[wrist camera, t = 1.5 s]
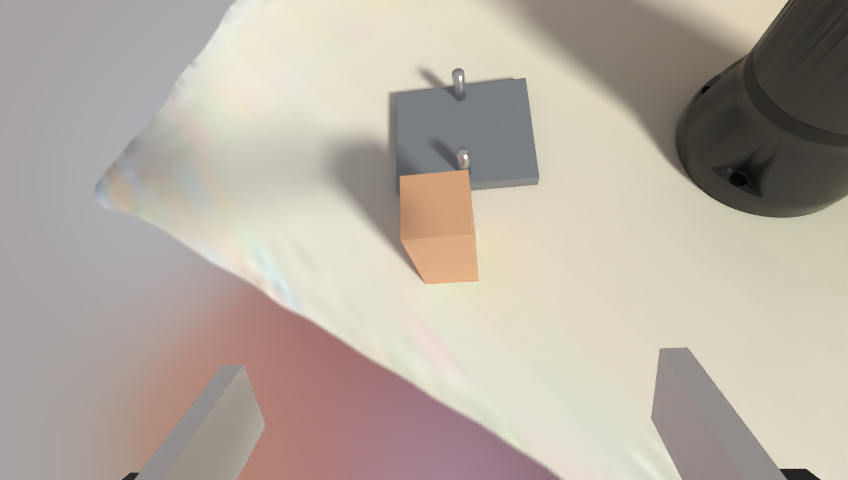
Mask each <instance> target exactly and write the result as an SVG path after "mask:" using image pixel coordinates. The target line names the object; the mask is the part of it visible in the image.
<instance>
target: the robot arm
mask: <svg viewBox="0 0 848 480" xmlns="http://www.w3.org/2000/svg"><path fill="white" fill-rule="evenodd" d="M676 145H677V151H678V154H679V157H680V160H681V162H682V164H683V166H684V168H685V169H686V171H687V172H688V174H689V175H690V176H691V178H692V179H693V180H694V181H695V182H696V183H697V184H698V185H699V186H700V187H701V188H702V189H703V190H704V191H706V192H707V193H708V194H709V195H711V196H712V197H714V198H715V199H717V200H719V201H720V202H722V203H724V204H726V205H728V206H730V207H732V208H735V209H738V210H740V211H743V212H746V213H750V214H754V215H759V216H766V217H778V218H785V217H797V216H803V215H808V214H811V213H814V212H817V211H820V210H822V209H825V208H826V207H828V206H830V205H832V204H834V203H835V202H837V201H839V200H841V199H842V198H844V197H846V196H847V195H848V0H789V1H788V2H787V3H786V5H785V6H784V7H783V9H782V10H781V11H780V13H779V14H778V15H777V17H776V18H775V19H774V21H773V22H772V23H771V25H770V26H769V27H768V29H767V30H766V31H765V33H764V34H763V35H762V37H761V38H760V40H759V41H758V42H757V44H756V45H755V46H754V48H753V49H752V50H751V52H750V53H748V54H747V55H745V56H744V57H742V58H741V59H739V60H738V61H737V62H735V63H734V64H732V65H731V66H729V67H728V68H727V69H725V70H724V71H723V72H721V73H720V74H719V75H717V76H715V77H714V78H712V79H711V80H710V81H708V82H707V83H706V84H705V85H703V86H702V87H701V88H700V89H699V90H698V92H697V93H696V94H695V95H694V96H693V98H692V99H691V101H690V102H689V104H688V105H687V107H686V108H685V110H684V111H683V113H682V115H681V117H680V119H679V122H678V125H677V130H676ZM651 419H652V421H653V423H654V425H655V427H656V429H657V431H658V433H659V435H660V437H661V439H662V441H663V443H664V445H665V447H666V449H667V450H668V452H669V454H670V456H671V458H672V460H673V462H674V464H675V466H676V468H677V470H678V472H679V474H680V476H681V478H682V480H820V479H819V478H817V477H816V476H815V475H814V474H812V473H811V472H810V471H808V470H807V469H779V468H778V467H777V466H776V464H775V463H774V462H773V460H772V459H771V458H770V456H769V455H768V454H767V452H766V451H765V450H764V448H763V447H762V446H761V444H760V443H759V442H758V440H757V439H756V438H755V436H754V435H753V434H752V432H751V431H750V430H749V428H748V427H747V426H746V424H745V423H744V422H743V420H742V419H741V418H740V416H739V415H738V414H737V412H736V411H735V410H734V408H733V407H732V406H731V404H730V403H729V402H728V401H727V399H726V398H725V397H724V395H723V394H722V393H721V391H720V390H719V389H718V387H717V386H716V385H715V383H714V382H713V381H712V379H711V378H710V377H709V375H708V374H707V373H706V371H705V370H704V369H703V367H702V366H701V365H700V363H699V362H698V361H697V359H696V358H695V357H694V355H693V354H692V353H691V351H690V350H689V349H688V348H665V349H660V352H659V360H658V368H657V376H656V384H655V392H654V400H653V408H652V416H651ZM264 427H265V423H264V420H263V417H262V415H261V412H260V409H259V406H258V404H257V401H256V398H255V395H254V393H253V390H252V387H251V384H250V382H249V379H248V376H247V373H246V371H245V368H244V365H226V366H221V368H220V369H219V370H218V372H217V373H216V374H215V376H214V377H213V378H212V379H211V381H210V382H209V383H208V385H207V386H206V387H205V389H204V390H203V391H202V393H201V394H200V395H199V396H198V398H197V399H196V400H195V402H194V403H193V404H192V405H191V407H190V408H189V409H188V411H187V412H186V413H185V415H184V416H183V417H182V418H181V420H180V421H179V422H178V424H177V425H176V426H175V428H174V429H173V430H172V431H171V433H170V434H169V435H168V437H167V438H166V439H165V440H164V442H163V443H162V445H161V446H160V447H159V448H158V450H157V451H156V452H155V454H154V455H153V456H152V457H151V459H150V460H149V461H148V462H147V464H146V465H145V466H144V468H143V469H142V470H141V472H140V473H130V474H128V475H127V476H126V477H125V478H124V479H122V480H237V478H238V476H239V474H240V473H241V471H242V469H243V467H244V465H245V463H246V461H247V459H248V458H249V455H250V454H251V452H252V450H253V448H254V446H255V444H256V442H257V441H258V439H259V437H260V435H261V433H262V431H263V429H264Z"/></svg>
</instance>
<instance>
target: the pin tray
mask: <svg viewBox="0 0 848 480" xmlns="http://www.w3.org/2000/svg"><path fill="white" fill-rule="evenodd" d="M452 78H453V86H454V87H448V88H439V89H431V90H423V91H415V92H407V93H399V94H397V192H398V194H399V197H400V176H407V175H417V174H427V173H438V172H448V171H458V170H468V172H469V181H470V190H481V189H492V188H504V187H515V186H526V185H537V184H538V180H539V173H538V166H537V158H536V151H535V144H534V136H533V129H532V122H531V114H530V107H529V100H528V92H527V85H526V78H520V79H512V80H504V81H496V82H488V83H480V84H472V85H465V78H464V71H463V70H462V69H460V68H457V69H455V70H453V72H452Z"/></svg>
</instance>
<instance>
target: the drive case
mask: <svg viewBox="0 0 848 480" xmlns="http://www.w3.org/2000/svg"><path fill="white" fill-rule="evenodd" d="M400 241H401V242H402V244H403V246H404V248H405V249H406V251H407V253H408V255H409V256H410V258H411V260H412V261H413V263H414V265H415V267H416V268H417V270H418V272H419V274H420V275H421V277H422V279H423V280H424V282H425V284H436V283H453V282H469V281H478V268H477V254H476V240H475V227H474V218H473V209H472V200H471V190H470V181H469V172H468V170H458V171H448V172H438V173H427V174H417V175H407V176H400Z"/></svg>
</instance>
